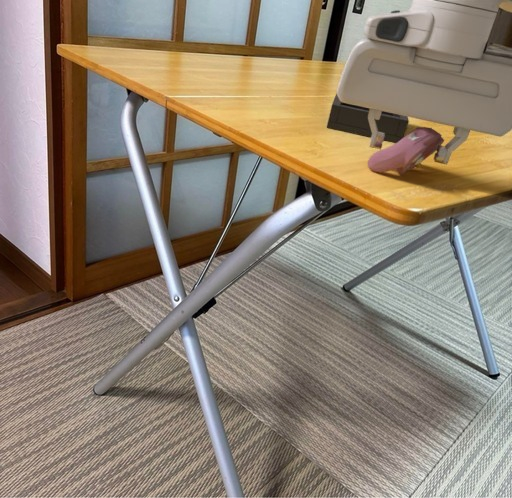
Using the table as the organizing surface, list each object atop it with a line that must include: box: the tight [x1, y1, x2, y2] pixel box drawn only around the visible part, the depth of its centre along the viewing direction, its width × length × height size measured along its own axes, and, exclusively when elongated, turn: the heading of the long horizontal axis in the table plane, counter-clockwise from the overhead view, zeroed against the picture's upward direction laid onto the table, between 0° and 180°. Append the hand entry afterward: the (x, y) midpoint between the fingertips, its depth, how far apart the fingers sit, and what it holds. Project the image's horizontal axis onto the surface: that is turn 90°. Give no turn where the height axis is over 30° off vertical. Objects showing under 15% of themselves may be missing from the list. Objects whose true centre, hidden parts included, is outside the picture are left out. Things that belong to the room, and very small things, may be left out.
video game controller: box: [367, 126, 445, 176], centre depth 63 cm, size 10×5×7 cm, turn 143°
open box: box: [326, 92, 410, 144], centre depth 83 cm, size 11×15×4 cm
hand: (406, 154), depth 63 cm, fingers closed on video game controller, 6 cm apart
